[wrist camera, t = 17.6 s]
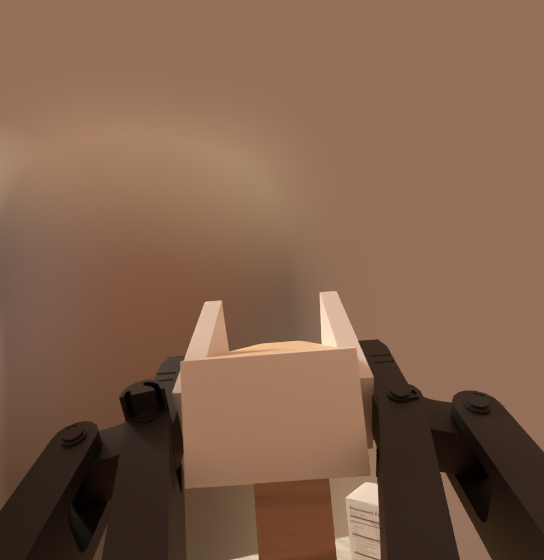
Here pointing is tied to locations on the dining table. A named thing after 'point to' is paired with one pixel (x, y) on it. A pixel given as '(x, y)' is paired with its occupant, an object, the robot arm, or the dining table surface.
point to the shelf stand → (295, 520)
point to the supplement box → (364, 522)
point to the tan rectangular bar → (273, 415)
